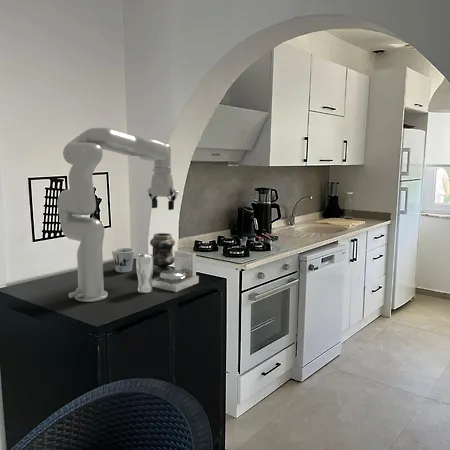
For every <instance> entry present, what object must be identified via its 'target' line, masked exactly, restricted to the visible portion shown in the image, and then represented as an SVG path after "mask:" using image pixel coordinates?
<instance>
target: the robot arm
mask: <svg viewBox="0 0 450 450" xmlns="http://www.w3.org/2000/svg"><path fill="white" fill-rule="evenodd" d="M104 150H105V151H109V152H113V153H117V154H121V155H124V156H128V157H129V156H130V157H139V158H140V159H141V160H143V161H150V162H151V161H153V162H154V163H153V168H152V171H153V172H154V173H153V174H152V177H151V183H150V188H148V189H147V193H148V197H150V198H149V199H150V200H151V208H152V209H157V208H158V197H159V198H160V197H161V198H166V197H167V199H168V203H167V204H168V206H167V207H168V209H167V210H169V211H171V210H175V201H176V199H177V198H178V196H179V190H176V189H175V188H174V179H173V175H172V153H171V151H172V148H171V145H170V144H169V143H163V142H161V141H159V140H154V139H150V138H145V137H141V136H136V135H132V134H129V133H125V132H122V131H120V130H116V129H114V128H110V127H90V128H88V129H86V130H85V131H83V132H82V133H80V134H79V135H78V136H76V137H75V138H74V139H72V140H71V141H69V142H68V143H67V144H66V145H65V146H64V148H63V151H62V155H63V159H64V160H65V161H66V163H67V164H70V165H72V166H71V168H70V169H69V173H68V185H69V186H68V187H69V188H68V189H67V188H66V189H64V190H63V191H61V192H60V193H59V195H58V197H57V200H56V205H57V211H58V217H59V223H60V227H61V230H62V234H63V235H64V236H65V237H66V238H67V239H69V240H73V241H77V242H80V243H79V246H78V248H77V252H76V260H77V262H76V263H77V284H78V285H77V286H78V287H76V289H75V290H74V291H73V292H72V291H71V292H68V294H67V295H68V298H70V299H71V298H74V300H76V301H78V302H85V303H90V302H92V303H93V302H99V301H102V300H104V299H106V298H107V297H108V295H109V293H108V291H106V290H105V289H104V288H105V287H104V264H103V263H104V261H103V260H104V259H103V256H104V255H103V243H104V237H105V227H104V224H103V223H102V222H101V221H100V220H99V219H97V218H94V217H87V216H90V215H92V214H94V213H95V211H96V209H97V201H96V196H95V188H94V183H93V175H94V172H95V170H96V168H97V166H98V165H99V164H100V162H101V161H102V159H103V151H104Z"/></svg>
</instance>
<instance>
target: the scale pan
mask: <svg viewBox="0 0 450 450" xmlns="http://www.w3.org/2000/svg"><path fill="white" fill-rule="evenodd" d="M185 276H186V273H185V272H184V271H183V270H181V271H180V270H175V269H173V270H167V271H163V272H161V273H159V277H161V278H163V279H168V280H176V279H182V278H184V277H185Z"/></svg>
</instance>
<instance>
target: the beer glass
mask: <svg viewBox="0 0 450 450" xmlns="http://www.w3.org/2000/svg"><path fill="white" fill-rule="evenodd" d="M135 260H136V262H135V264H136V265H135V268H136V274H137V275H136V276H137V281H138V285H137V292H138V293H141V294H147V293H151V292H153V287H152V280H153V273H154V272H153V269H154V265H153V255H152V254H151V253H139V254H137V255H136V259H135Z"/></svg>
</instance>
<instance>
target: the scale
mask: <svg viewBox="0 0 450 450" xmlns="http://www.w3.org/2000/svg"><path fill="white" fill-rule="evenodd" d="M173 256H174V261H175V262H174V270H180V271H181V270H183V271H184V272H185V273H186V276H185V277H184V278H182V279H176V280H168V279H163V278H161V277H160V276H159V277H157V278H156V277H155V278H152V288H156V289H161V290H166V291H170V292H175V293H177V292H179V291H183V290H185V289H187V288H189V287H192V286H194V285H196V284H199V283H200V279H199V277H200V276H199V275H197V253H195V252H189V251H183V250H175V251H174V253H173Z"/></svg>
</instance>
